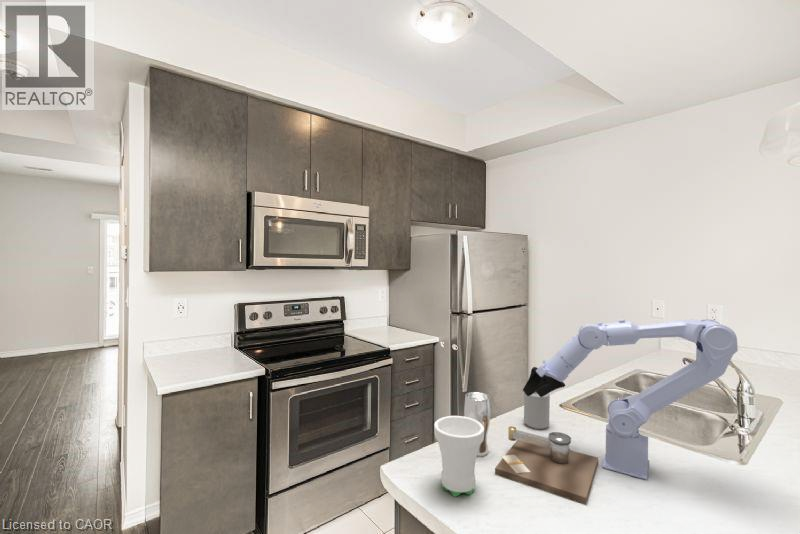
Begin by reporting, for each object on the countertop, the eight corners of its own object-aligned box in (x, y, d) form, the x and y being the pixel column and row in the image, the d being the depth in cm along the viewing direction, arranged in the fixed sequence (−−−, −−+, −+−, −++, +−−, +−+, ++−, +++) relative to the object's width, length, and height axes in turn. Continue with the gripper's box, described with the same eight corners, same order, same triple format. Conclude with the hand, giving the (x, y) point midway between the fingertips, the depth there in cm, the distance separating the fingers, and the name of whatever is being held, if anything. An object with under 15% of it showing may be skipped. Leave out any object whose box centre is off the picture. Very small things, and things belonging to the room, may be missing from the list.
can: (545, 432, 114) (545, 393, 114) (520, 426, 119) (521, 388, 118) (552, 424, 120) (552, 386, 120) (528, 418, 125) (529, 382, 124)
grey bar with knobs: (572, 457, 97) (572, 435, 96) (568, 466, 92) (568, 443, 92) (511, 440, 105) (511, 420, 105) (505, 448, 101) (505, 427, 101)
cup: (491, 499, 82) (492, 434, 82) (442, 506, 80) (443, 439, 79) (471, 471, 93) (472, 413, 93) (427, 476, 91) (428, 417, 90)
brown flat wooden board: (598, 463, 97) (598, 456, 97) (586, 504, 81) (586, 496, 81) (517, 441, 109) (517, 435, 109) (492, 473, 92) (492, 465, 92)
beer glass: (471, 442, 108) (472, 389, 108) (494, 450, 103) (495, 395, 103) (459, 451, 102) (459, 396, 102) (482, 460, 98) (483, 402, 98)
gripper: (566, 351, 109) (534, 383, 113) (544, 345, 99) (509, 380, 104) (585, 371, 104) (551, 403, 108) (563, 366, 95) (526, 402, 99)
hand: (532, 393), depth 106 cm, fingers open, 7 cm apart
